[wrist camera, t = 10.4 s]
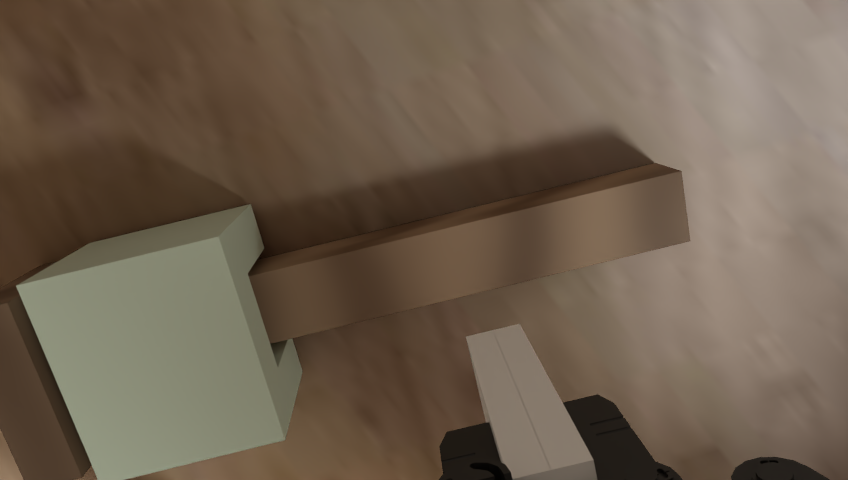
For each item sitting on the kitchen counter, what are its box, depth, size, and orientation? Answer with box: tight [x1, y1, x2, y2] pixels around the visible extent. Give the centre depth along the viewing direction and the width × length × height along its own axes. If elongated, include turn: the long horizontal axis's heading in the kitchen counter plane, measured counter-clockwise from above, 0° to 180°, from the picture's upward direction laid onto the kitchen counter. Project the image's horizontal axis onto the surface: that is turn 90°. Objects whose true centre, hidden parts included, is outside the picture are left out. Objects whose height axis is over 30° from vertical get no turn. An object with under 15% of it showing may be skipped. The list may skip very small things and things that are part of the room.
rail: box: [0, 163, 690, 480], centre depth 26 cm, size 27×7×6 cm, turn 103°
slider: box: [16, 204, 303, 480], centre depth 25 cm, size 7×8×6 cm
